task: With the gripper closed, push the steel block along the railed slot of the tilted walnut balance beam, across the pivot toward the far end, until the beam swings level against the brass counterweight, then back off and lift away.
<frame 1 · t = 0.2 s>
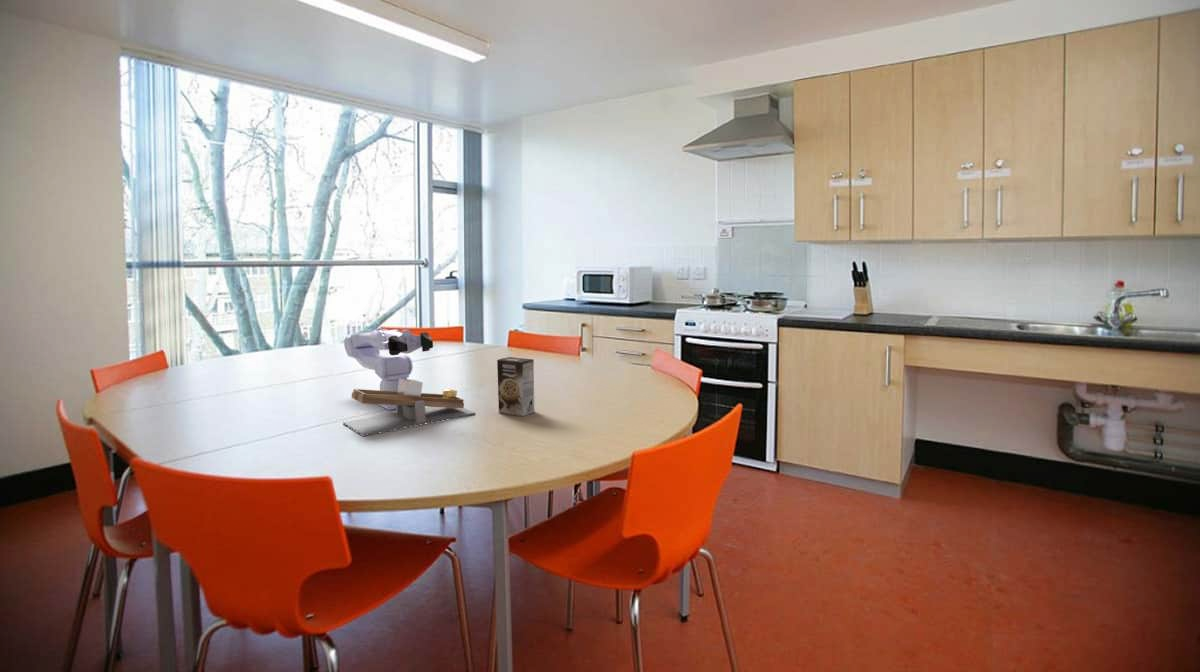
hand: (419, 345, 183), 21 cm above the table, tool horizontal, fingers open, 7 cm apart
coffee box: (516, 413, 191), on the table
beam stand: (410, 419, 184), on the table
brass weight: (448, 400, 192), point 4 cm above the table, tilted 12°, touching beam
steel block: (408, 397, 183), point 6 cm above the table, tilted 12°, touching beam
beam: (409, 398, 184), point 6 cm above the table, hinge at -12.3°, touching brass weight, steel block
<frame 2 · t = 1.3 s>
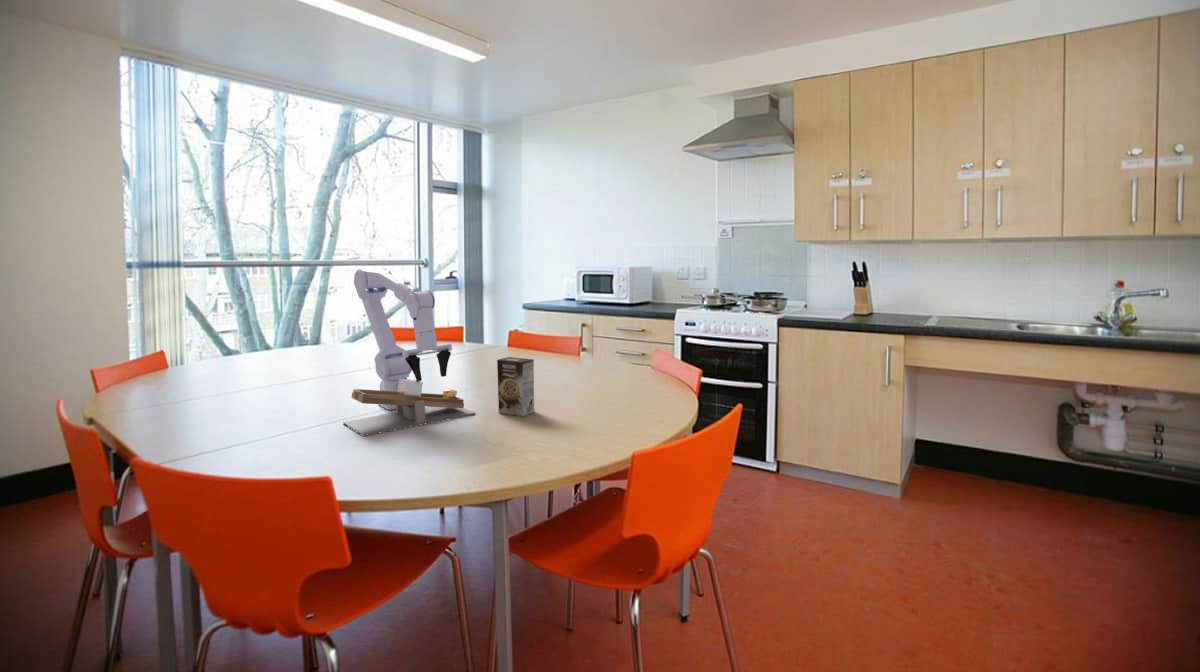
hand: (431, 378, 187), 11 cm above the table, tool pointing down, fingers open, 7 cm apart
steel block: (408, 397, 183), point 6 cm above the table, tilted 12°, touching gripper
beam: (409, 398, 184), point 6 cm above the table, hinge at -12.3°, touching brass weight
everything else where it was.
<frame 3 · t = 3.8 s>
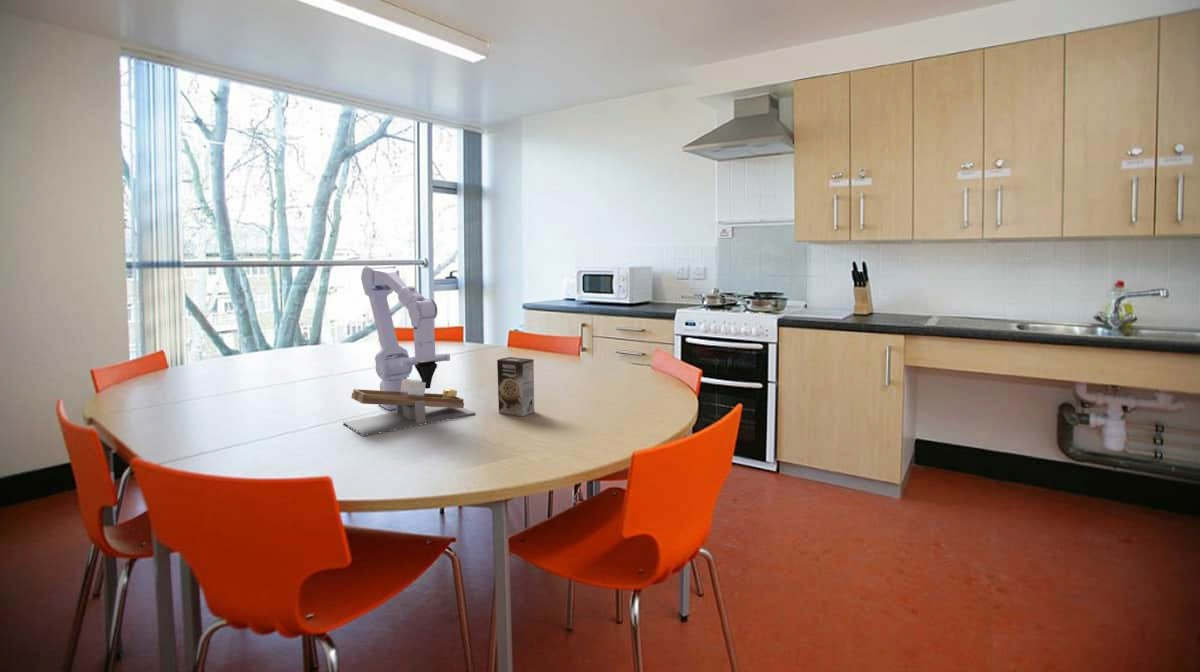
hand: (426, 387, 187), 8 cm above the table, tool pointing down, fingers closed
steel block: (411, 397, 184), point 6 cm above the table, tilted 12°, touching beam, gripper
beam: (409, 398, 184), point 6 cm above the table, hinge at -12.0°, touching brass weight, steel block
everything else where it was.
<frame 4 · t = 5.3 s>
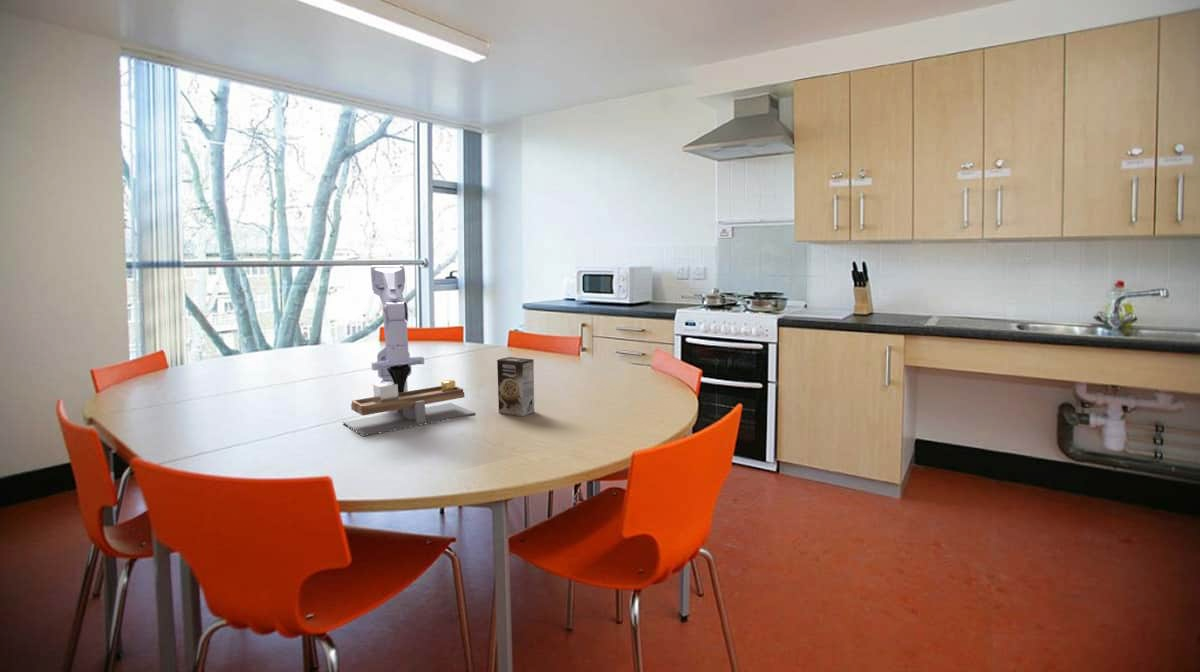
hand: (400, 392, 182), 8 cm above the table, tool pointing down, fingers closed
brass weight: (448, 391, 191), point 6 cm above the table, touching beam
steel block: (386, 401, 180), point 6 cm above the table, touching gripper
beam: (409, 398, 184), point 6 cm above the table, hinge at 0.3°, touching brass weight
everything else where it was.
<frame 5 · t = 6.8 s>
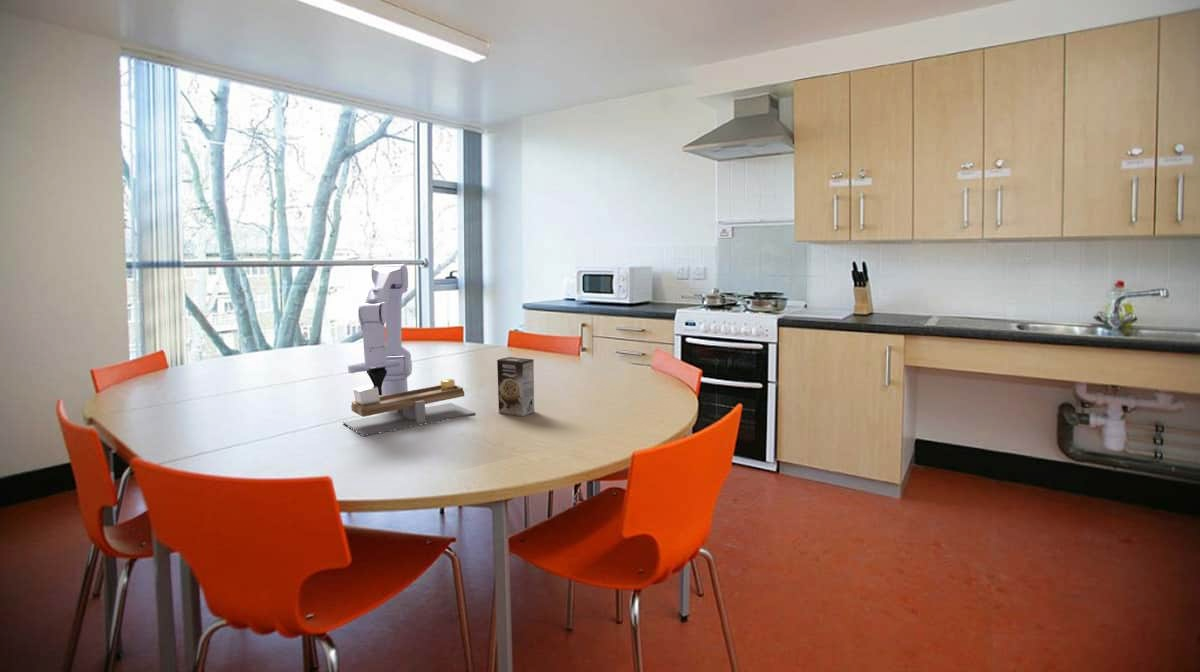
hand: (378, 395, 178), 8 cm above the table, tool pointing down, fingers closed, pressing on steel block
steel block: (368, 405, 177), point 6 cm above the table, tilted 6°, touching beam, gripper
beam: (409, 398, 184), point 6 cm above the table, hinge at 1.7°, touching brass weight, steel block
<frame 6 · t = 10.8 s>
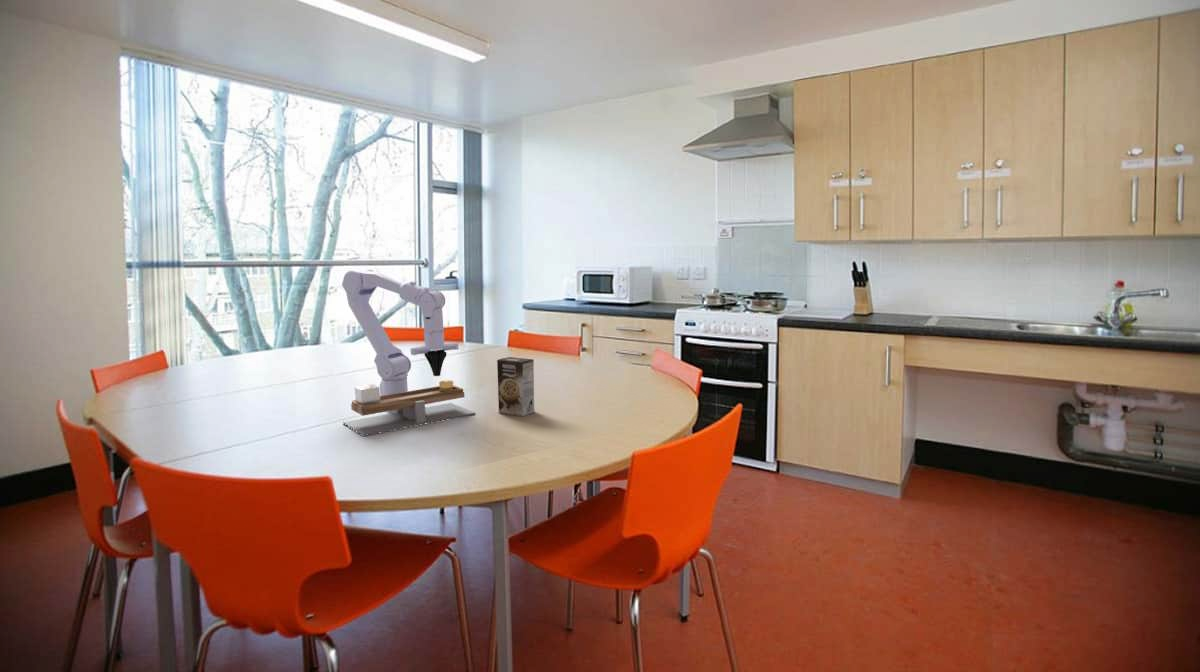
hand: (436, 375, 194), 10 cm above the table, tool pointing down, fingers closed
steel block: (368, 404, 177), point 6 cm above the table, touching beam
beam: (409, 398, 184), point 6 cm above the table, hinge at 0.5°, touching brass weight, steel block
at the end: beam at +0° (first picture: -12°); steel block 1.3 cm from the target spot on the beam, point 0.7 cm above the beam's base; steel block tilted 1° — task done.
